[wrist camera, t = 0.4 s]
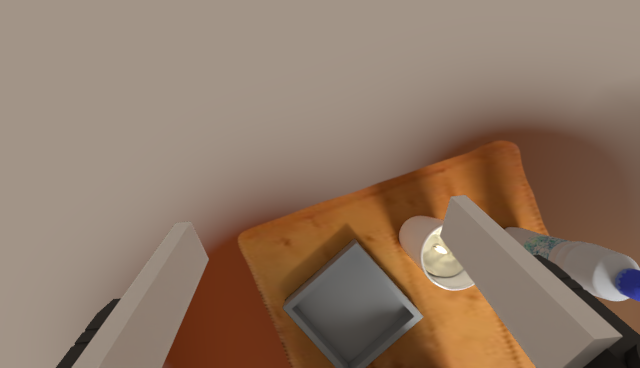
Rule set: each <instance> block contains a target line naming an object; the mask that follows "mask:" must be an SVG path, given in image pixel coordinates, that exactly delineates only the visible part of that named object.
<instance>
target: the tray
mask: <svg viewBox="0 0 640 368" xmlns="http://www.w3.org/2000/svg"><path fill="white" fill-rule="evenodd" d="M283 309H284V311H285V312H286V313H287V314H288V315H289V316H290V317H291V318H292V319H293V321H294V322H295V323H296V324H297V325H298V326H299V327H300V328H301V329H302V331H303V332H304V333H305V334H306V335H307V336H308V337H309V338H310V339H311V341H312V342H313V343H314V344H315V345H316V346H317V347H318V348H319V349H320V351H321V352H322V353H323V354H324V355H325V356H326V357H327V358H328V359H329V361H330V362H331V363H332V364H333V365H334V366H335V367H336V368H366V367H367V366H368V365H369V364H370V363H371V362H372V361H374V360H375V359H376V358H377V357H378V356H379V355H380V354H382V353H383V352H384V351H385V350H386V349H387V348H388V347H390V346H391V345H392V344H393V343H394V342H395V341H397V340H398V339H399V338H400V337H401V336H402V335H403V334H405V333H406V332H407V331H408V330H409V329H410V328H411V327H413V326H414V325H415V324H416V323H417V322H418V321H419V320H421V319H422V318H423V316H422V314H421V313H420V311H419V310H418V309H417V307H416V306H415V305H414V304H413V303H412V302H411V301H410V300H409V299H408V297H407V296H406V295H405V294H404V293H403V292H402V291H401V290H400V289H399V287H398V286H397V285H396V284H395V283H394V282H393V281H392V280H391V279H390V277H389V276H388V275H387V274H386V273H385V272H384V271H383V270H382V268H381V267H380V266H379V265H378V264H377V263H376V262H375V261H374V260H373V258H372V257H371V256H370V255H369V254H368V253H367V252H366V251H365V250H364V248H363V247H362V246H361V245H360V244H359V243H358V242H357V241H356V240H355V238H354V239H353V240H352V241H351V242H350V243H349V244H348V245H346V246H345V247H344V248H343V249H342V250H341V251H340V252H339V253H337V254H336V255H335V256H334V257H333V258H332V259H331V260H330V261H328V262H327V263H326V264H325V265H324V266H323V267H322V268H321V269H319V270H318V271H317V272H316V273H315V274H314V275H313V276H312V277H310V278H309V279H308V280H307V281H306V282H305V283H304V284H303V285H301V286H300V287H299V288H298V289H297V290H296V291H295V292H294V293H292V294H291V295H290V296H289V297H288V298H287V299H286V300H285V302H284V305H283Z"/></svg>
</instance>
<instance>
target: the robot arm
mask: <svg viewBox="0 0 640 368" xmlns="http://www.w3.org/2000/svg"><path fill="white" fill-rule="evenodd" d="M440 237H441V239H442V240H443V241H444V243H445V244H446V246H447V247H448V248H449V250H450V251H451V252H452V254H453V255H454V256H455V258H456V259H457V261H458V262H459V263H460V265H461V266H462V267H463V269H464V270H465V271H466V273H467V274H468V275H469V277H470V278H471V280H472V281H473V282H474V284H475V285H476V286H477V288H478V289H479V290H480V292H481V293H482V295H483V296H484V297H485V299H486V300H487V301H488V303H489V304H490V305H491V307H492V308H493V309H494V311H495V312H496V314H497V315H498V316H499V318H500V319H501V320H502V322H503V323H504V324H505V326H506V327H507V329H508V330H509V331H510V333H511V334H512V335H513V337H514V338H515V339H516V341H517V342H518V343H519V345H520V346H521V348H522V349H523V350H524V352H525V353H526V354H527V356H528V357H529V358H530V360H531V361H532V363H533V364H534V365H535V367H536V368H640V335H639V334H638V333H637V332H635V331H634V330H633V329H632V328H631V327H629V326H628V325H627V324H626V323H625V322H624V321H622V320H621V319H620V318H619V317H618V316H617V315H615V314H614V313H613V312H612V311H611V310H609V309H608V308H607V307H606V306H605V305H604V304H602V303H601V302H600V301H599V300H598V299H596V298H595V297H594V296H593V295H592V294H591V293H589V292H588V291H587V290H584V289H583V287H582V286H581V285H580V284H579V283H578V282H576V281H575V280H574V279H571V276H569V275H568V274H567V273H566V272H565V271H563V270H562V269H561V268H560V267H559V266H558V265H556V264H555V263H553V262H551V261H550V260H548V259H546V258H544V257H543V256H541V255H539V254H538V255H532V254H531V253H529V252H528V251H527V250H526V249H525V248H524V247H523V246H522V245H521V244H519V243H518V242H517V241H516V240H515V239H514V238H513V237H512V236H511V235H509V234H508V233H507V232H506V231H505V230H504V229H503V228H502V227H500V226H499V225H498V224H497V223H496V222H495V221H494V220H493V219H492V218H490V217H489V216H488V215H487V214H486V213H485V212H484V211H483V210H481V209H480V208H479V207H478V206H477V205H476V204H475V203H474V202H473V201H471V200H470V199H469V198H468V197H467V196H466V195H462V196H452V197H451V198H450V201H449V205H448V208H447V212H446V216H445V219H444V223H443V226H442V230H441V233H440ZM208 260H209V259H208V256H207V254H206V252H205V250H204V248H203V246H202V244H201V241H200V239H199V237H198V235H197V233H196V231H195V229H194V226H193V224H192V222H181V223H175V224H174V226H173V227H172V229H171V230H170V231H169V233H168V234H167V235H166V237H165V238H164V240H163V241H162V243H161V244H160V245H159V247H158V248H157V249H156V251H155V252H154V254H153V255H152V257H151V258H150V259H149V261H148V262H147V263H146V265H145V266H144V268H143V269H142V270H141V272H140V273H139V275H138V276H137V277H136V279H135V280H134V282H133V283H132V284H131V286H130V287H129V289H128V290H127V291H126V293H125V294H124V295H123V297H122V298H121V299H113V300H112V301H111V302H110V303H109V304H107V305H106V306H105V307H104V308H103V309H102V310H101V311H100V312H99V313H97V315H96V316H95V317H94V319H93V320H92V321H91V322H90V324H89V325H88V326H87V328H86V329H85V332H84V333H82V334H81V335H80V337H79V338H78V339H77V341H76V342H75V345H74V346H73V347H71V348H70V350H69V351H68V352H67V354H66V355H65V356H64V358H63V359H62V360H61V362H60V363H59V364H58V366H57V367H56V368H162V366H163V363H164V361H165V359H166V356H167V354H168V352H169V349H170V347H171V345H172V343H173V340H174V338H175V336H176V334H177V331H178V329H179V327H180V324H181V322H182V320H183V317H184V315H185V313H186V311H187V308H188V306H189V304H190V301H191V299H192V297H193V295H194V292H195V290H196V288H197V285H198V283H199V281H200V278H201V276H202V274H203V271H204V269H205V267H206V265H207V262H208Z"/></svg>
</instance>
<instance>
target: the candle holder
mask: <svg viewBox="0 0 640 368" xmlns="http://www.w3.org/2000/svg"><path fill="white" fill-rule="evenodd" d="M443 223H444V220H442V219H438V218H433V217H428V216H414V217H411V218H409V219H408V220H407V221H405V222H404V224H403V225H402V227H401V229H400V232H399V241H400V244H401V247H402V248H403V250H404V251H405V252H406V253H407V255H408V256H409V257H410V258H411V259H412V260H413V261H414V262H415V263H416V264H417V266H418V267H419V268H420V269H421V270H422V271H423V272H424V273H425V275H426V276H427V277H428V278H429V280H431V281H432V282H433V283H434V284H436V285H437V286H439V287H441V288H444V289H447V290H462V289H466V288H469V287H471V286H473V285H474V282H473V281H472V280H471V278H470V277H469V275H468V274H467V273H466V271H465V270H464V269H463V267H462V266H461V265H460V263H459V262H458V261H457V259H456V258H455V256H454V255H453V254H452V252H451V251H450V250H449V248H448V247H447V246H446V244H445V243H444V241H443V240H442V239H441V237H440V233H441V230H442V226H443Z"/></svg>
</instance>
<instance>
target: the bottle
mask: <svg viewBox="0 0 640 368" xmlns="http://www.w3.org/2000/svg"><path fill="white" fill-rule="evenodd" d="M504 230H505V231H506V232H507V233H508V234H509V235H511V236H512V237H513V238H514V239H515V240H516V241H517V242H518V243H519V244H521V245H522V246H523V247H524V248H525V249H526V250H527V251H528V252H529V253H531V254H532V255H538V254H539V255H541V256H543V257H544V258H546V259H548V260H550V261H551V262H553V263H555V264H556V265H558V266H559V267H560V268H561V269H562V270H563V271H565V272H566V273H567V274H568V275H569V276H571V279H574V280H575V281H576V282H578V283H579V284H580V285H581V286H582V287H583V289H584V290H587V291H588V292H589V293H591V294H592V295H595V296H598V297H601V298H604V299H607V300H612V301H622V300H625V299H628V298H632V299H634V300H637V301H640V268H639V266H638V265H637V263H636V262H635V261H634V260H633V259H632V258H630V257H628V256H626V255H623V254H621V253H618V252H615V251H612V250H609V249H606V248H603V247H601V246H599V245H596V244H590V243H585V242H571V241H567V240H563V239H559V238H555V237H551V236H547V235H542V234H539V233H536V232H533V231H530V230H526V229H523V228H517V227H507V228H505V229H504Z"/></svg>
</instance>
